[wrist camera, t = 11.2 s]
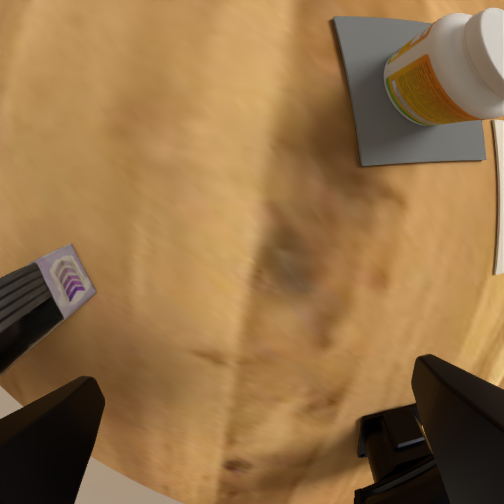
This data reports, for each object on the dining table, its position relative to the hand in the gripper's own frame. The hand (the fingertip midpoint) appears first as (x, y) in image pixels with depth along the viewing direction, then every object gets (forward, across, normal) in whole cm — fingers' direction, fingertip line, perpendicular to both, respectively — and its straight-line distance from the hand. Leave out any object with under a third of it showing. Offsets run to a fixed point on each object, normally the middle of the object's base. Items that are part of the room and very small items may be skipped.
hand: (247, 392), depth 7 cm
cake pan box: (+13, +21, +2) cm, 25 cm away
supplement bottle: (+13, -11, -10) cm, 20 cm away
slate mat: (+13, -12, -10) cm, 20 cm away
